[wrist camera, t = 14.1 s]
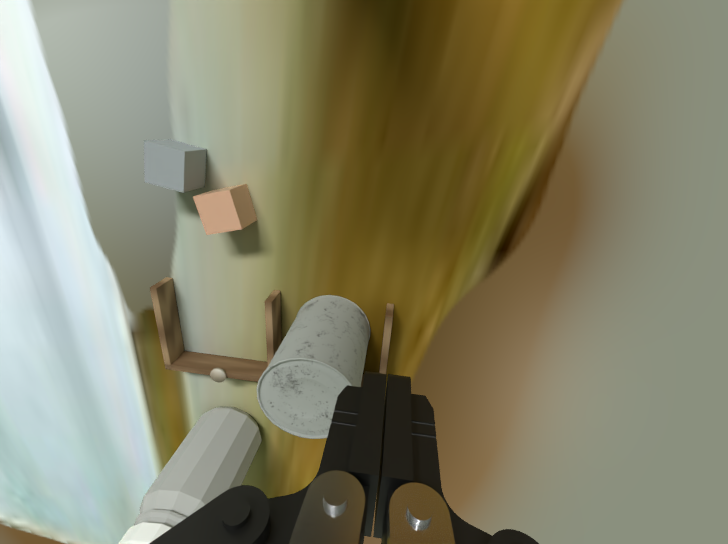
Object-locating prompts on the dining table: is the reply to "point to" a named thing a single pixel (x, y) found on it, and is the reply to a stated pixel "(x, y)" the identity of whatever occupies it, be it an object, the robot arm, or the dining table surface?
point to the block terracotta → (225, 209)
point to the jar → (198, 472)
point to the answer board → (221, 364)
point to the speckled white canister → (315, 366)
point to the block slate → (174, 165)
